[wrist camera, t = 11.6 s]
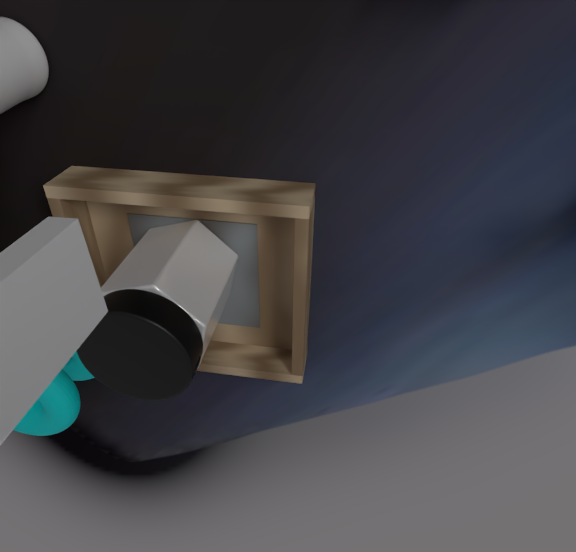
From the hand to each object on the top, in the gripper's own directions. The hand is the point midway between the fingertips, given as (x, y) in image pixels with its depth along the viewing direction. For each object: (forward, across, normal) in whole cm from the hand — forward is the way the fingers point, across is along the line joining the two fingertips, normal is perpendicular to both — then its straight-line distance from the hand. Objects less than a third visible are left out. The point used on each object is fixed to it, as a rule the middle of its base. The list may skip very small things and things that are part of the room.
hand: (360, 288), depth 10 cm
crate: (+24, +15, +16) cm, 33 cm away
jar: (+23, +15, +15) cm, 32 cm away
